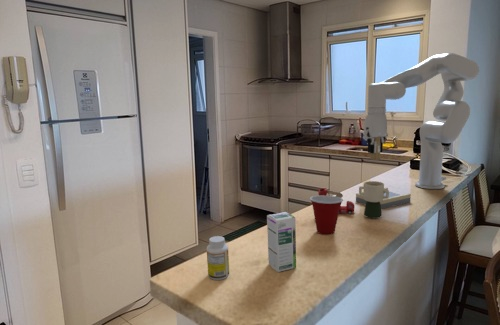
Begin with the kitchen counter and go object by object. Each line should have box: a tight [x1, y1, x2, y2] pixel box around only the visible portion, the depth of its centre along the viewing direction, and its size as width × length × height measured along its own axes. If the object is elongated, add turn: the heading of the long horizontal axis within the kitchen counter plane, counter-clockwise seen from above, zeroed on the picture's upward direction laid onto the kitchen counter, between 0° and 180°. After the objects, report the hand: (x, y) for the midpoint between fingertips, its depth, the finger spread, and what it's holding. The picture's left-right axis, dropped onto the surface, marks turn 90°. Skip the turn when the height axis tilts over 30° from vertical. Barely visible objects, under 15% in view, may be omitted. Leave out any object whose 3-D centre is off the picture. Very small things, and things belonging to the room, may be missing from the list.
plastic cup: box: [309, 195, 344, 236], centre depth 119 cm, size 11×11×12 cm
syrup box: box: [266, 211, 297, 273], centre depth 96 cm, size 6×6×14 cm
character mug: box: [358, 180, 390, 219], centre depth 132 cm, size 11×7×13 cm, turn 53°
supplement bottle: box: [206, 235, 230, 281], centre depth 92 cm, size 6×6×10 cm
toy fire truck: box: [318, 187, 355, 215], centre depth 138 cm, size 3×14×10 cm, turn 84°
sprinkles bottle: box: [369, 133, 381, 161], centre depth 160 cm, size 5×5×14 cm
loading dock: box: [355, 187, 412, 210], centre depth 151 cm, size 18×13×4 cm
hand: (375, 151), depth 161 cm, fingers closed on sprinkles bottle, 4 cm apart
